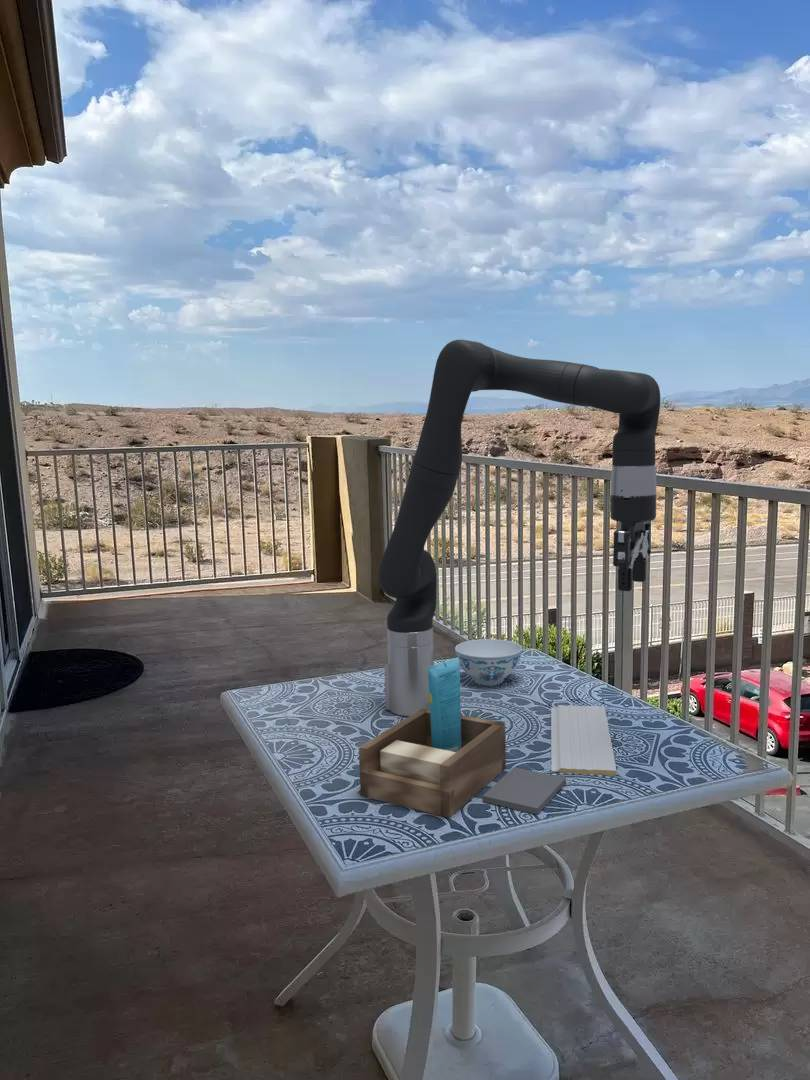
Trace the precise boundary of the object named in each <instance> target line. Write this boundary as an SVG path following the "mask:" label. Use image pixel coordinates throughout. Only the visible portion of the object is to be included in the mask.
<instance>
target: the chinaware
mask: <svg viewBox="0 0 810 1080" xmlns="http://www.w3.org/2000/svg"><path fill="white" fill-rule="evenodd" d="M454 649H455V655H456V658H457V657H459V660H460V668H462V669H463V671H465V673H466V674H467V675H468V676H470V677H471V678H473V681H474V683H476V684H478V685H481V684H482V686H497V684H498V685H500V683H501V684H502V682H503V681H505V678H507V677H508V676H509V675H511V674H512V673H513V672H514V671H515V669H516V668H517V666H518V665H519V662H520V661H521V658H522V652H523V646H522V645H521V644H519V643H518V642H515V641H511V640H504V639H494V638H485V639H484V638H481V639H472V640H467V641H463V642H461V643H459V644H456V646H455V648H454ZM503 683H504V682H503Z"/></svg>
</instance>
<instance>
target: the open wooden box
mask: <svg viewBox="0 0 810 1080" xmlns="http://www.w3.org/2000/svg"><path fill="white" fill-rule="evenodd" d="M396 740H398V741H403V742H408V743H413V744H418V745H423V746H428V747H432V735H431V717H430V710H429V709H423V708H422V709H420V710H419V711H417V712H416V713H414V714H412V715H411V716H406V717H405V718H403V720H401V721H399V722H398V723H395V724H394V725H392V726H391V727H390V728H388V729H387V730H385V731H383V732H382V733H379V734H378V735H377V736H375V737H373V738H371V739H370V740H368V741H367V742H366V743H364V744H362V745H360V746H359V747H358V761H359V766H358V767H359V784H360V785H359V789H360V790H359V791H360V796H361V797H365V798H369V799H373V800H376V801H381V802H384V803H389V804H393V805H396V806H401V807H403V808H407V809H408V808H409V809H412V810H415V811H416V810H417V811H420V812H424V813H428V814H431V815H436V816H440V817H444V818H449V819H450V818H452V817H453V816H454V815H455V814H456V813H458V811H460V810H461V809H462V808H464V806H465V805H466V804H468V802H469V800H470V799H471V800H472V799H473V798H474V797H475V796H477V794H479V793H480V792H481V791H482V790H483V789H485V788H486V786H488V785H489V784H490V783H491V782H492V781H493V780H494V779H496V778H497V777H498V776H499V775H500V774H502V773H503V771H505V768H506V767H507V766H506V765H507V763H506V722H501V721H497V720H491V719H490V720H489V719H484V718H481V717H474V716H473V717H472V716H467V715H463V714H461V749H460V750H459V751H457V752H456V753H455V754H453V755H452V756H451V757H449V758H448V759H447V760H446V761H444V762H443V763H442V764H440V785H436V784H432V783H428V782H423V781H419V780H415V779H410V778H406V777H402V776H397V775H393V774H388V773H384V772H381V762H380V751H381V750H382V749H384V748H385V747H387V746H388V745H390V744H392V743H393V742H395V741H396ZM498 774H499V775H498ZM497 775H498V776H497ZM496 776H497V777H496ZM487 784H488V785H487ZM482 788H483V789H482ZM480 790H481V791H480ZM479 791H480V792H479ZM478 792H479V793H478ZM473 796H474V797H473ZM471 800H470V801H471ZM460 808H461V809H460Z"/></svg>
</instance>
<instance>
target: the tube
mask: <svg viewBox="0 0 810 1080" xmlns="http://www.w3.org/2000/svg"><path fill="white" fill-rule="evenodd" d="M460 672H461V665H460V660H459V657H457V656H456V658H451V659H448V660H446V661H443V662H439V663H436V664H434V665H433V666H429V667H428V681H429V699H430V717H431V735H432V747H433V748H438V749H443V750H447V751H452V752H457V751H459V750H460V749H461V715H462V714H461V713H462V712H461V711H462V710H461V709H462V708H461V673H460Z"/></svg>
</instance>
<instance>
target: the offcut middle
mask: <svg viewBox="0 0 810 1080" xmlns="http://www.w3.org/2000/svg"><path fill="white" fill-rule="evenodd" d="M381 772H384V773H388V774H393V775H397V776H402V777H406V778H410V779H415V780H419V781H423V782H428V783H432V784H436V785H440V779H436V778H432V777H427V776H423V775H418V774H414V773H410V772H405V771H401V770H396V769H392V768H387V767H383V766H381Z"/></svg>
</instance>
